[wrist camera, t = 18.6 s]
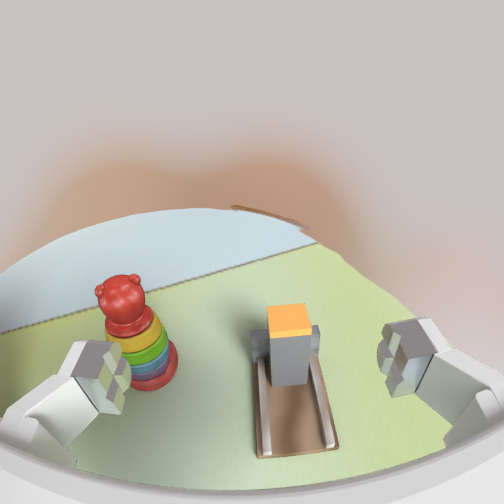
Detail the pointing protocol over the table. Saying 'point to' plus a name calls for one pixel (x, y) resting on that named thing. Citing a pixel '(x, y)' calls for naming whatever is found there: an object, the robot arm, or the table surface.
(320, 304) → the table surface
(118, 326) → the stacking bear
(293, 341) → the grey tall block
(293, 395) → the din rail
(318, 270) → the table surface
